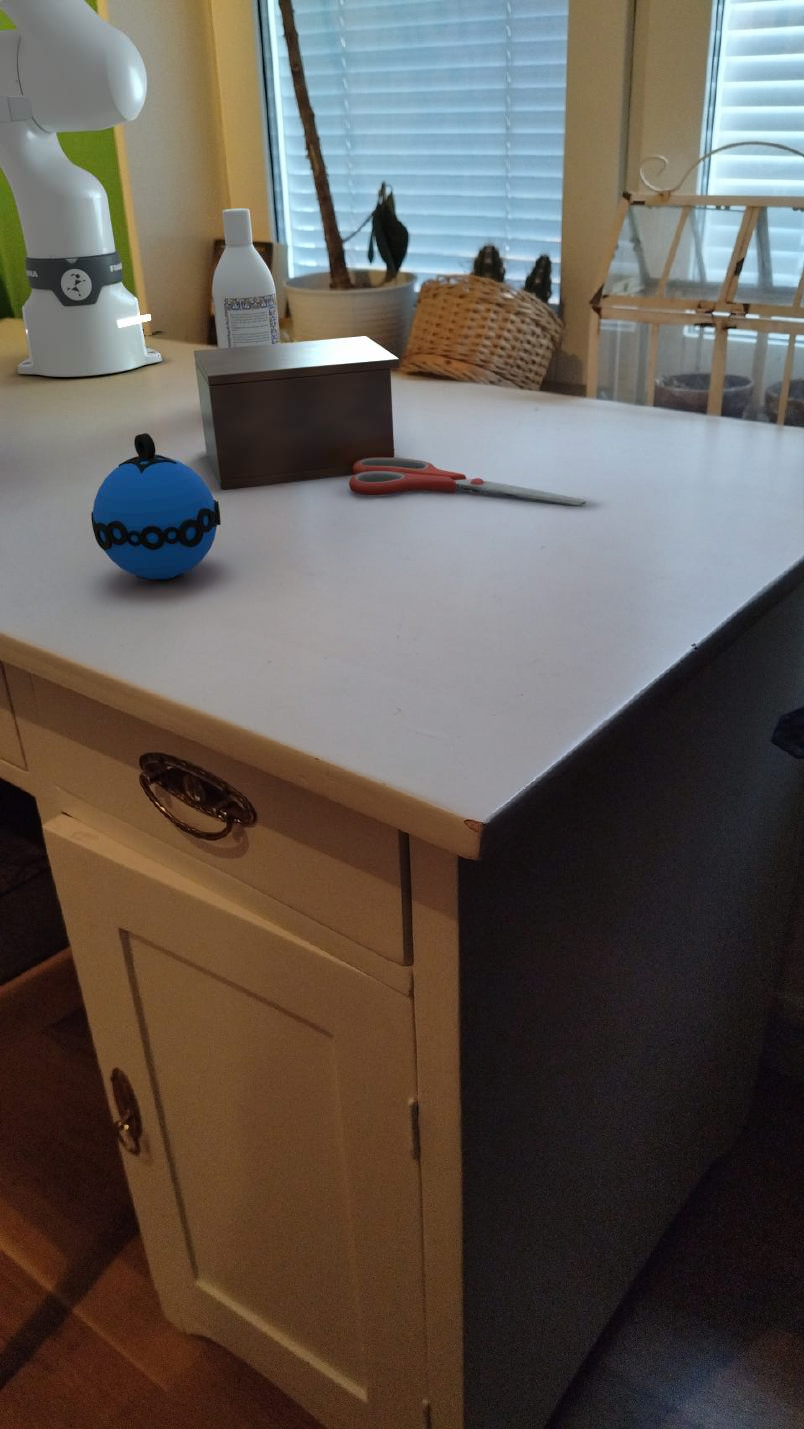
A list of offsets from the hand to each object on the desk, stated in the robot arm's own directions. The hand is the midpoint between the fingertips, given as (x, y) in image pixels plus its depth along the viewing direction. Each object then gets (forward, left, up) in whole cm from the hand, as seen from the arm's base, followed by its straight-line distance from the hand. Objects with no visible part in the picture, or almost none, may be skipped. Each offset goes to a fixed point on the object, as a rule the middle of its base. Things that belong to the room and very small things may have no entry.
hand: (31, 108), depth 93 cm
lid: (+10, +19, -21) cm, 30 cm away
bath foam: (-18, +19, -30) cm, 40 cm away
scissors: (+24, +31, -30) cm, 49 cm away
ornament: (+36, +5, -30) cm, 47 cm away
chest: (+10, +19, -30) cm, 36 cm away
